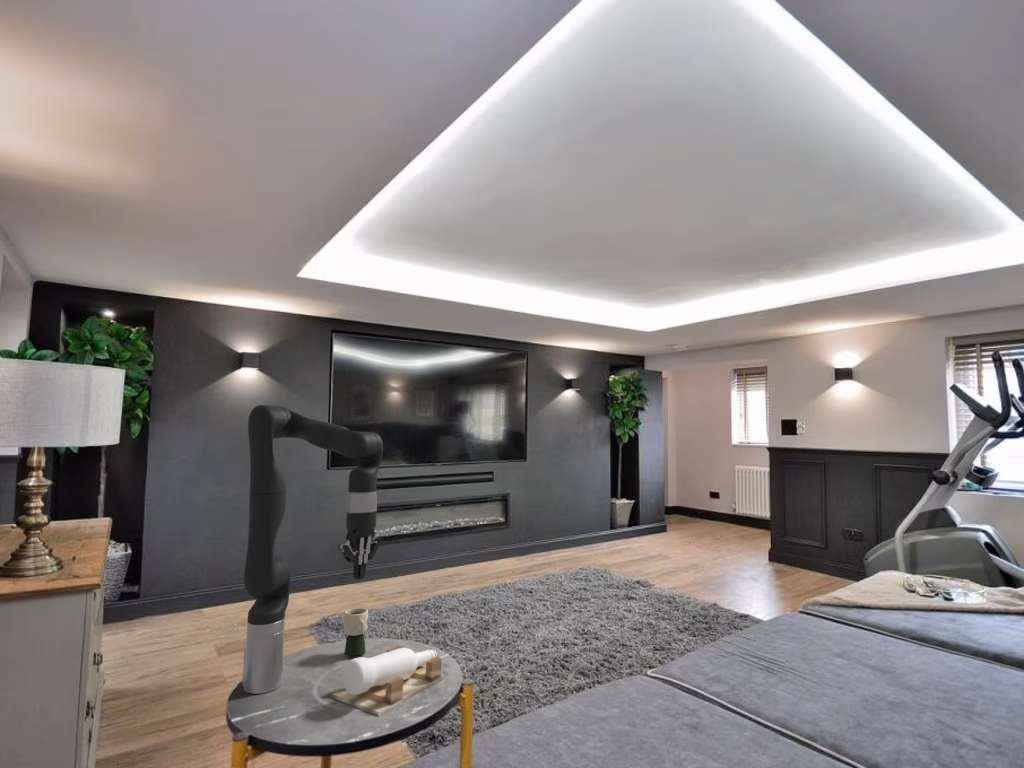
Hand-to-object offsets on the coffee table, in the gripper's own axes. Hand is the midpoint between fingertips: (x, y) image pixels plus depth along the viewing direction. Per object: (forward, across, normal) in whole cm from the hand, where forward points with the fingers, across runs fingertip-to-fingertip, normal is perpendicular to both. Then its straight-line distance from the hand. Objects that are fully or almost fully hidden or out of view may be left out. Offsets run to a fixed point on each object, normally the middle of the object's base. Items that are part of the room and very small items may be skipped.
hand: (359, 578), depth 136 cm
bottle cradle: (+31, -12, 0) cm, 33 cm away
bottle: (+24, +1, 0) cm, 24 cm away
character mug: (+31, -22, -25) cm, 45 cm away
